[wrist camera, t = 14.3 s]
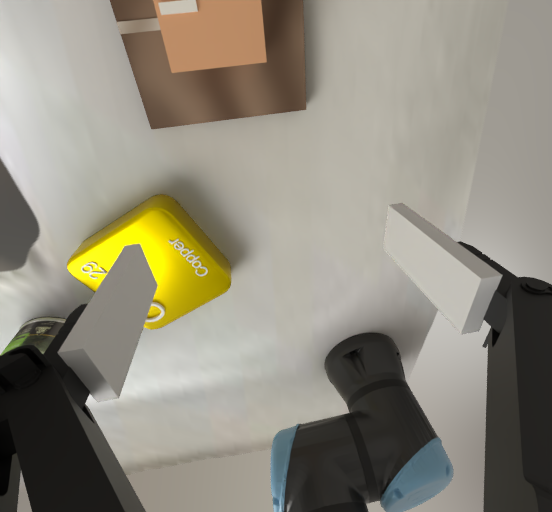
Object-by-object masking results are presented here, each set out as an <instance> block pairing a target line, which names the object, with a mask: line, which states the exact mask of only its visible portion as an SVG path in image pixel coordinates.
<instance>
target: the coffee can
mask: <svg viewBox="0 0 552 512" xmlns="http://www.w3.org/2000/svg"><path fill="white" fill-rule="evenodd" d="M65 321H66V319H62V318H54V317H44V318H37V319H33V320H31V321H28V322H27V323H25V324H24V325H23V326H22V327H21V328H20V330H19V332H18V333H17V334H16V335H15V337H14V338H13V339H12V340H11V342H10V343H9V344H8V346H7V347H6V348H5V350H4V351H3V352H2V353H1V355H3V354H4V353H6V352H8V351H10V350H12V349H14V348H16V347H19V346H24V345H34V346H35V347H37V348H38V349H39V350H40V352H41V353H42V354H44V352H45V351H46V349H47V348H48V346H49V345H50V343H51V342H52V340H53V339H54V337H55V336H56V335H57V334H58V331H59V330H60V329H61V327H62V326H64V325H63V324H64V323H65ZM1 355H0V356H1Z"/></svg>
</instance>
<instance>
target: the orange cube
mask: <svg viewBox="0 0 552 512" xmlns="http://www.w3.org/2000/svg"><path fill="white" fill-rule="evenodd" d="M153 2H154V6H155V10H156V13H157V17H158V21H159V25H160V29H161V33H162V37H163V41H164V45H165V49H166V53H167V57H168V60H169V64H170V68H171V72H172V73H177V72H186V71H194V70H203V69H212V68H221V67H230V66H239V65H248V64H256V63H265V62H267V59H266V48H265V37H264V26H263V15H262V4H261V0H153Z"/></svg>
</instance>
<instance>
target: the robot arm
mask: <svg viewBox="0 0 552 512" xmlns="http://www.w3.org/2000/svg"><path fill="white" fill-rule="evenodd" d="M383 249H384V250H385V251H386V252H387V253H388V255H389V256H390V257H391V258H392V259H393V260H394V261H395V262H396V263H397V265H398V266H399V267H400V268H401V269H402V270H403V271H404V272H405V273H406V274H407V276H408V277H409V278H410V279H411V280H412V281H413V282H414V283H415V284H416V286H417V287H418V288H419V289H420V290H421V291H422V292H423V293H424V294H425V296H426V297H427V298H428V299H429V300H430V301H431V302H432V303H433V304H434V306H435V307H436V308H437V309H438V310H439V311H440V312H441V313H442V314H443V315H444V317H445V318H446V319H447V320H448V321H449V322H450V323H451V324H452V325H453V326H454V328H455V329H456V330H457V331H458V332H459V333H460V334H466V333H471V332H476V331H479V330H480V328H481V325H482V323H483V320H485V321H486V322H487V323H488V324H489V325H490V326H491V329H490V331H489V333H488V335H487V337H486V340H485V342H484V344H483V347H485V348H486V346H487V344H488V368H487V405H486V442H485V477H484V479H485V480H484V512H552V285H551V284H549V283H547V282H545V281H542V280H538V279H535V278H530V277H516V276H515V275H514V274H512V273H511V272H509V271H508V270H506V269H505V268H503V267H502V266H500V265H499V264H498V263H496V262H495V261H493V260H490V258H489V257H487V256H486V255H485V254H482V252H480V251H479V250H477V249H476V248H474V247H473V246H471V245H468V244H465V243H463V242H456V241H454V240H453V239H452V238H450V237H449V236H448V235H446V234H445V233H443V232H442V231H441V230H439V229H438V228H436V227H435V226H434V225H432V224H431V223H430V222H428V221H427V220H425V219H424V218H423V217H421V216H420V215H418V214H417V213H416V212H414V211H413V210H411V209H410V208H409V207H407V206H406V205H405V204H403V203H399V204H392V205H389V206H388V214H387V222H386V230H385V238H384V246H383ZM157 286H158V285H157V282H156V280H155V277H154V275H153V273H152V270H151V268H150V266H149V263H148V261H147V259H146V256H145V254H144V251H143V249H142V247H141V244H140V243H138V244H131V245H125V246H124V247H123V249H122V251H121V252H120V254H119V255H118V257H117V259H116V260H115V262H114V263H113V265H112V266H111V268H110V270H109V271H108V273H107V274H106V276H105V278H104V279H103V281H102V282H101V284H100V286H99V287H98V289H97V290H96V292H95V294H94V295H93V297H92V298H91V300H90V302H89V303H88V304H83V305H80V306H79V307H78V308H77V309H76V310H74V311H73V312H72V313H71V314H70V315H69V317H68V318H67V320H66V321H65V323H64V324H63V325H64V326H62V327H61V329H60V330H59V331H58V334H57V335H56V336H55V337H54V339H53V340H52V342H51V343H50V345H49V346H48V348H47V349H46V351H45V352H44V354H42V353H41V352H40V350H39V349H38V348H37V347H35V346H34V345H24V346H19V347H16V348H14V349H12V350H10V351H8V352H6V353H4V354H3V355H1V356H0V512H17V504H18V494H19V483H20V473H21V471H22V475H23V478H24V482H25V486H26V490H27V494H28V497H29V501H30V505H31V509H32V512H146V511H145V509H144V508H143V506H142V504H141V502H140V500H139V499H138V496H137V495H136V493H135V491H134V489H133V487H132V486H131V484H130V482H129V480H128V478H127V477H126V475H125V473H124V471H123V469H122V467H121V466H120V464H119V462H118V460H117V458H116V457H115V455H114V453H113V451H112V449H111V448H110V446H109V444H108V442H107V440H106V438H105V437H104V435H103V433H102V431H101V429H100V428H99V426H98V424H97V422H96V420H95V418H94V417H93V415H92V413H91V411H90V409H89V408H88V407H87V406H86V404H85V403H86V400H87V398H88V396H89V394H91V395H92V396H93V398H94V399H95V400H96V401H97V402H101V401H107V400H112V399H117V398H119V396H120V393H121V390H122V388H123V385H124V382H125V379H126V376H127V373H128V370H129V367H130V364H131V362H132V359H133V356H134V353H135V350H136V347H137V344H138V341H139V338H140V336H141V333H142V330H143V327H144V324H145V321H146V318H147V315H148V312H149V310H150V307H151V304H152V301H153V298H154V295H155V292H156V289H157ZM325 370H326V373H327V376H328V378H329V380H330V382H331V383H332V384H333V385H334V387H335V388H336V390H337V391H338V393H339V394H340V395H341V397H342V398H343V399H344V401H345V402H346V404H347V407H348V409H349V412H350V413H348V414H344V415H339V416H335V417H331V418H327V419H323V420H318V421H314V422H309V423H305V424H297V425H296V426H294V427H291V428H288V429H284V430H281V431H279V432H278V433H277V434H276V435H275V437H274V440H273V444H272V450H271V489H272V496H273V509H274V512H368V509H367V506H366V504H367V503H371V502H375V501H380V504H381V506H382V507H383V508H384V510H385V511H386V512H403V511H406V510H409V509H411V508H413V507H416V506H418V505H420V504H422V503H424V502H425V501H427V500H429V499H431V498H432V497H434V496H435V495H437V494H438V493H440V492H441V491H442V490H443V489H445V488H446V486H448V484H449V483H450V481H451V480H452V477H453V467H452V464H451V462H450V460H449V458H448V456H447V454H446V452H445V450H444V448H443V446H442V444H441V440H440V438H439V437H438V436H437V435H436V433H435V431H434V429H433V428H432V426H431V424H430V422H429V421H428V419H427V417H426V416H425V414H424V412H423V410H422V408H421V407H420V405H419V403H418V402H417V400H416V398H415V397H414V395H413V393H412V391H411V390H410V388H409V386H408V384H407V382H406V380H405V375H404V370H403V366H402V362H401V356H400V352H399V350H398V348H397V347H396V345H395V343H394V342H393V340H392V339H391V338H389V337H388V336H386V335H383V334H377V333H368V334H361V335H357V336H354V337H351V338H349V339H347V340H345V341H343V342H341V343H340V344H338V345H337V346H336V347H335V348H333V349H332V350H331V351H330V353H329V354H328V356H327V357H326V360H325Z"/></svg>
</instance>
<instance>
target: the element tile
mask: <svg viewBox="0 0 552 512" xmlns="http://www.w3.org/2000/svg"><path fill="white" fill-rule="evenodd" d="M138 243H140V244H141V247H142V249H143V251H144V254H145V256H146V259H147V261H148V263H149V266H150V268H151V270H152V273H153V275H154V277H155V280H156V282H157V285H158V286H157V289H156V292H155V295H154V298H153V301H152V304H151V307H150V310H149V312H148V315H147V318H146V321H145V324H144V327H145V328H148V329H158V328H162V327H164V326H165V325H167V324H169V323H171V322H173V321H174V320H176V319H178V318H180V317H182V316H184V315H185V314H187V313H189V312H191V311H193V310H195V309H196V308H198V307H200V306H202V305H204V304H205V303H207V302H209V301H211V300H213V299H215V298H216V297H218V296H220V295H222V294H224V293H225V292H226V291H227V290H228V289H229V288H230V286H231V267H230V263H229V262H228V260H227V259H226V258H225V257H224V255H223V254H222V253H221V252H220V251H219V250H218V248H217V247H216V246H215V245H214V244H213V243H212V241H211V240H210V239H209V238H208V237H207V236H206V235H205V233H204V232H203V231H202V230H201V229H200V228H199V226H198V225H197V224H196V223H195V222H194V221H193V219H192V218H191V217H190V216H189V215H188V214H187V213H186V211H185V210H184V209H183V208H182V207H181V206H180V204H179V203H178V202H177V201H176V200H174V199H173V198H171V197H169V196H168V195H162V194H161V195H155V196H153V197H151V198H149V199H148V200H146V201H144V202H143V203H141V204H140V205H138V206H137V207H135V208H134V209H132V210H131V211H129V212H128V213H126V214H125V215H123V216H122V217H120V218H119V219H117V220H115V221H114V222H112V223H111V224H109V225H108V226H106V227H105V228H103V229H102V230H100V231H99V232H97V233H96V234H94V235H93V236H91V237H89V238H88V239H86V240H85V241H84V242H83V243H82V244H81V245H80V246H79V248H78V249H77V250H76V251H75V253H74V254H73V255H72V256H71V258H70V259H69V261H68V263H67V268H68V270H69V272H70V273H71V275H73V276H74V277H75V278H76V279H77V280H79V281H80V282H82V283H83V284H84V285H86V286H87V287H88V288H90V289H91V290H93V291H94V292H96V290H97V289H98V287H99V286H100V284H101V282H102V281H103V279H104V278H105V276H106V274H107V273H108V271H109V270H110V268H111V266H112V265H113V263H114V262H115V260H116V259H117V257H118V255H119V254H120V252H121V251H122V249H123V247H124V246H125V245H131V244H138Z"/></svg>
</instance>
